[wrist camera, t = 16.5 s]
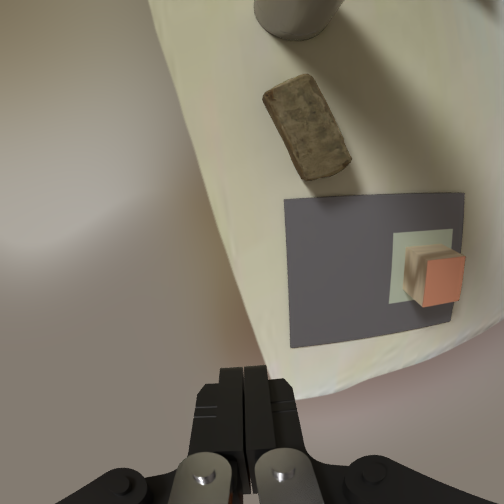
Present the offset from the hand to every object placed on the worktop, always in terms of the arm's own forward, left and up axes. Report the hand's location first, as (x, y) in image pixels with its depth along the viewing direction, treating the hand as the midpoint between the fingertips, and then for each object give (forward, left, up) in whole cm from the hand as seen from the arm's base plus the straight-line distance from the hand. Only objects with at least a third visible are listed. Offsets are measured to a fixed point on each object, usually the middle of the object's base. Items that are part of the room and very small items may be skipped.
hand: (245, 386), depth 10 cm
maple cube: (+8, +24, -23) cm, 34 cm away
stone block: (-10, +8, -29) cm, 32 cm away
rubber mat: (+8, +18, -29) cm, 35 cm away
